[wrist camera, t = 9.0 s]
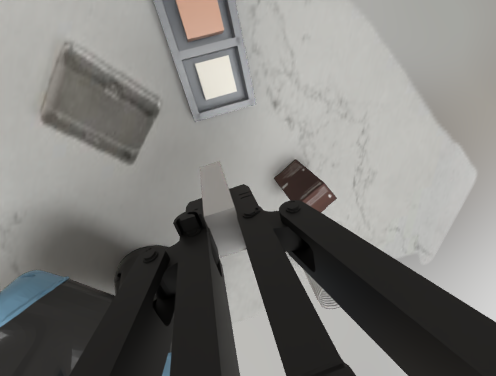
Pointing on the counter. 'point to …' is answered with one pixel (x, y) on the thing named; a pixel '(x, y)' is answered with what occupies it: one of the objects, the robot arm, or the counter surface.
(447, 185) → the counter surface
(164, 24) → the gray divided tray
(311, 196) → the box
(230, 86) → the key ivory
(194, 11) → the key terracotta
